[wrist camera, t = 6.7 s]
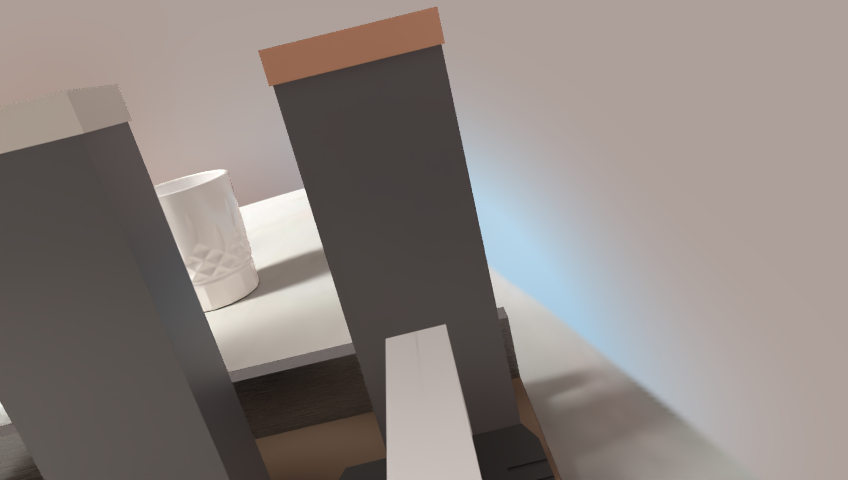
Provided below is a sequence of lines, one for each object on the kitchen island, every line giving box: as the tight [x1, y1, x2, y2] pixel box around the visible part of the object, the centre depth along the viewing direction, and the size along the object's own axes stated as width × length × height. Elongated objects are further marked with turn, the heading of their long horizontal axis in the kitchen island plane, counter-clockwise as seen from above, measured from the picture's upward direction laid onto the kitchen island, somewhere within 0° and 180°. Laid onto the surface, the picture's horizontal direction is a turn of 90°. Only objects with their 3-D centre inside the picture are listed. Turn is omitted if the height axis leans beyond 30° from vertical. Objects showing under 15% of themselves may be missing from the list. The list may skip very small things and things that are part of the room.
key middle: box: [0, 84, 271, 480], centre depth 17 cm, size 3×5×15 cm, turn 94°
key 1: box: [258, 7, 521, 452], centre depth 20 cm, size 3×5×15 cm, turn 94°
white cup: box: [154, 169, 259, 312], centre depth 47 cm, size 8×8×10 cm
